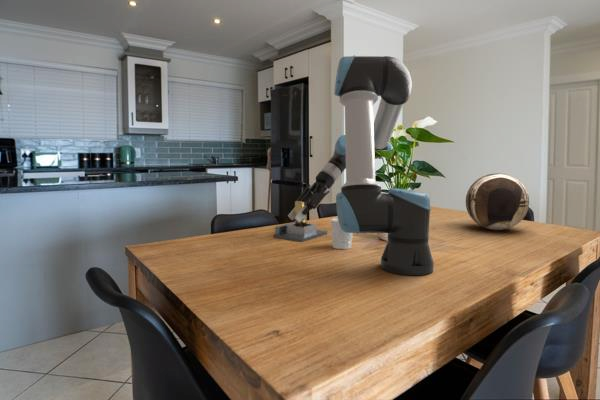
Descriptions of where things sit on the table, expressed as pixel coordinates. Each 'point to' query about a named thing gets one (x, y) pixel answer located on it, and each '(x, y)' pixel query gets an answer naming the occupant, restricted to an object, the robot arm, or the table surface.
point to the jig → (297, 232)
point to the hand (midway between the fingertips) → (293, 219)
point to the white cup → (340, 236)
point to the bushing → (298, 207)
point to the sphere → (497, 201)
